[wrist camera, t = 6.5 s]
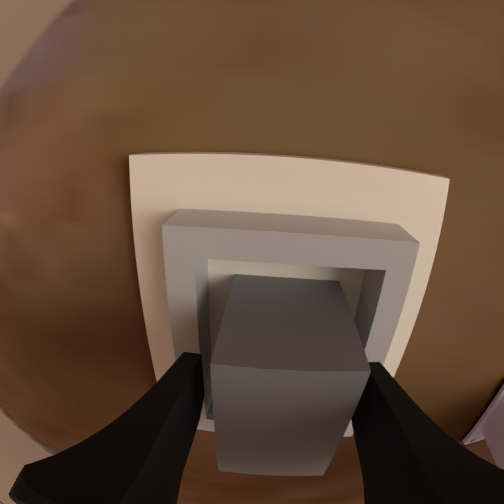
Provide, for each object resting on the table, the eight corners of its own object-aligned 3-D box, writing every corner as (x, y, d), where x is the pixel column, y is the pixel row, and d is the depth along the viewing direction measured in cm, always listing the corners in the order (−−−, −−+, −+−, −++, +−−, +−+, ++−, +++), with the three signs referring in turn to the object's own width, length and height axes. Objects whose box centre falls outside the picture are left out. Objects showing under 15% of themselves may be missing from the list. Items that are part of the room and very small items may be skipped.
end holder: (437, 174, 11) (478, 189, 8) (367, 413, 16) (376, 452, 13) (140, 153, 11) (101, 161, 8) (169, 402, 16) (155, 440, 14)
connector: (339, 280, 12) (371, 370, 7) (315, 388, 14) (322, 475, 9) (234, 273, 12) (210, 363, 7) (232, 383, 14) (218, 470, 9)
